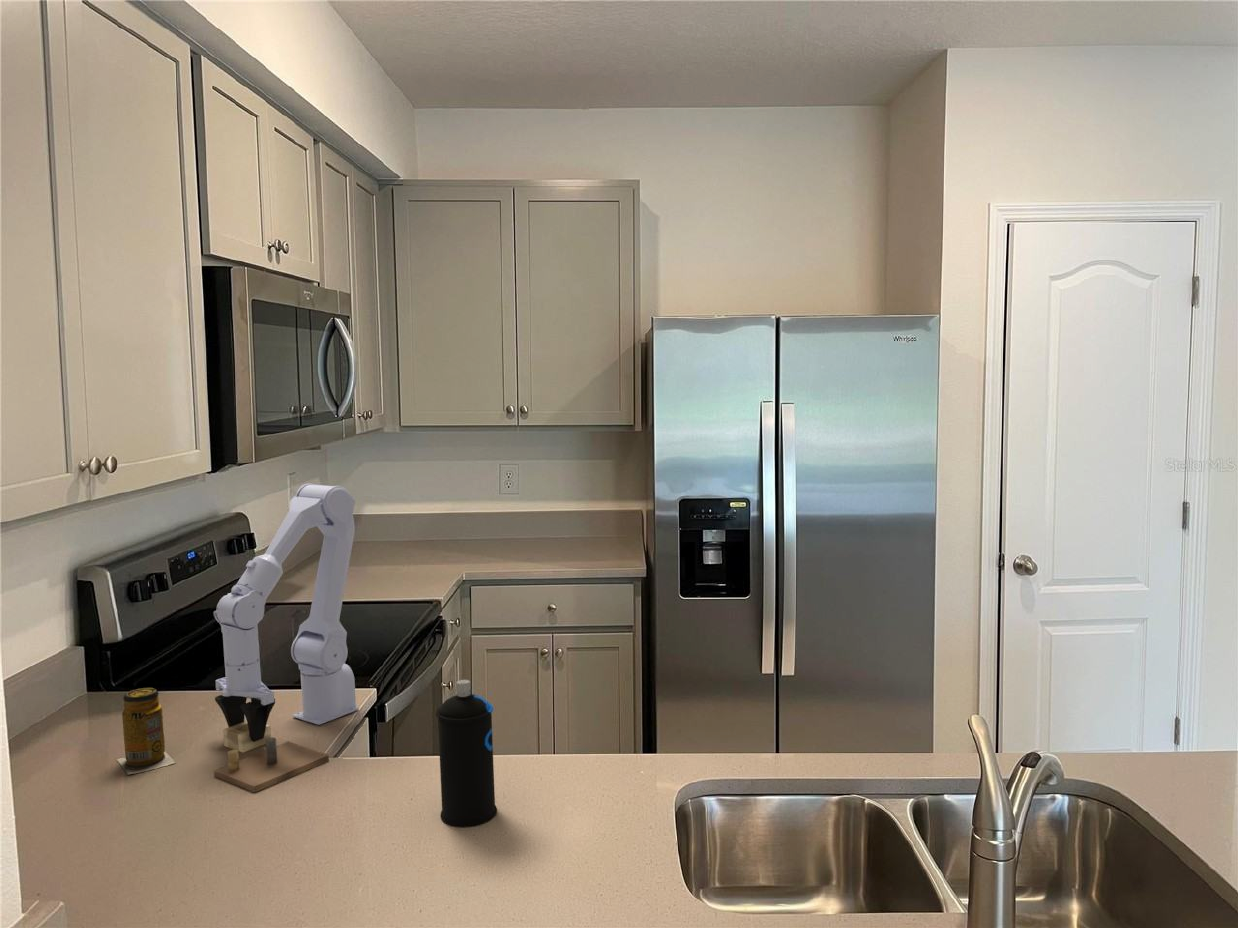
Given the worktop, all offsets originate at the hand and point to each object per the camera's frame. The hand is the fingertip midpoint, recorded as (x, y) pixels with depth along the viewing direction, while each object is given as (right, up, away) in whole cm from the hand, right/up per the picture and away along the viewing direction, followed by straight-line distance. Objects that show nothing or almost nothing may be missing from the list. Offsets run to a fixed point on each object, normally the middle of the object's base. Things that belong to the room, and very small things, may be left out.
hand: (247, 735), depth 166 cm
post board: (+8, -2, -11) cm, 14 cm away
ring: (0, -1, 0) cm, 1 cm away
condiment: (-15, -3, -7) cm, 16 cm away
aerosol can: (+44, -4, -28) cm, 52 cm away
